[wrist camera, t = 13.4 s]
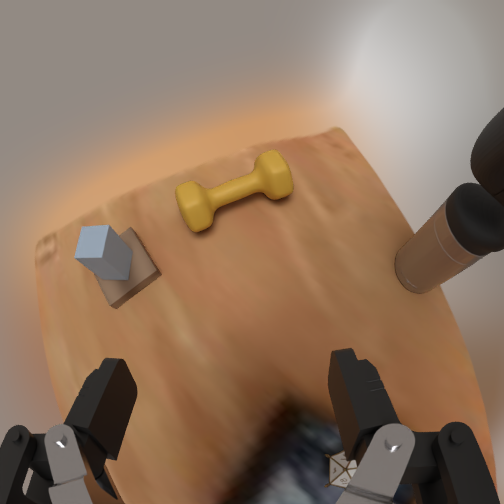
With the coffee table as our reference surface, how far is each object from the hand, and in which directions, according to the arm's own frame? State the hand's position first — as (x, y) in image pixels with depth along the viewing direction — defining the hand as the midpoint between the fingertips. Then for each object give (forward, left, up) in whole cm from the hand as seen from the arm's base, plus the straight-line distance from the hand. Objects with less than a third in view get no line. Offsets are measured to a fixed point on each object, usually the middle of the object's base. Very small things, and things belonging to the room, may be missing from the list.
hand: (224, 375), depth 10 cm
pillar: (+9, -26, -30) cm, 40 cm away
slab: (+9, -26, -33) cm, 43 cm away
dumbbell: (-14, -24, -33) cm, 43 cm away
